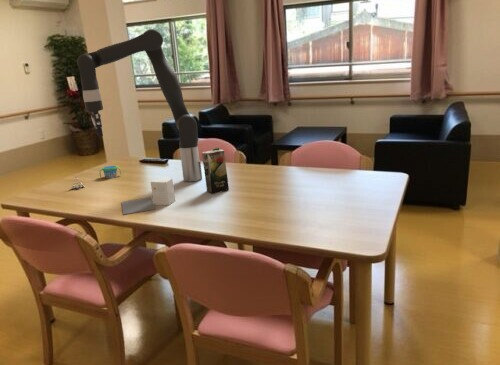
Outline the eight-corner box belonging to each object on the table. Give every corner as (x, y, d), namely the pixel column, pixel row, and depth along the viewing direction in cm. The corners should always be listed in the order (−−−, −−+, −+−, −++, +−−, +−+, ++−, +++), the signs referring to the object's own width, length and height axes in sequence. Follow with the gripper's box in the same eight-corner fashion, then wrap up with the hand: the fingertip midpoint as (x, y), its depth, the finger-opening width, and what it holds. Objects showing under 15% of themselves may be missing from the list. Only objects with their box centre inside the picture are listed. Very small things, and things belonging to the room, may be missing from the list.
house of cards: (67, 196, 203) (64, 181, 201) (67, 191, 210) (64, 177, 208) (86, 192, 206) (84, 178, 204) (85, 188, 214) (83, 174, 212)
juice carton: (200, 150, 187) (206, 150, 182) (219, 147, 192) (225, 147, 187) (205, 192, 191) (211, 194, 186) (224, 188, 196) (230, 190, 191)
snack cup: (122, 177, 232) (120, 164, 230) (121, 180, 224) (119, 167, 222) (101, 179, 229) (99, 166, 227) (100, 183, 222) (97, 169, 220)
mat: (150, 198, 188) (150, 197, 188) (155, 209, 171) (155, 208, 171) (121, 202, 184) (121, 202, 184) (123, 214, 168) (123, 214, 167)
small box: (175, 201, 181) (172, 178, 178) (169, 205, 176) (166, 182, 173) (160, 200, 183) (157, 178, 180) (153, 204, 178) (150, 181, 175)
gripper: (103, 99, 179) (109, 136, 184) (99, 98, 192) (106, 132, 196) (85, 101, 176) (92, 138, 181) (83, 100, 189) (89, 135, 193)
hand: (99, 135), depth 189 cm, fingers open, 8 cm apart
